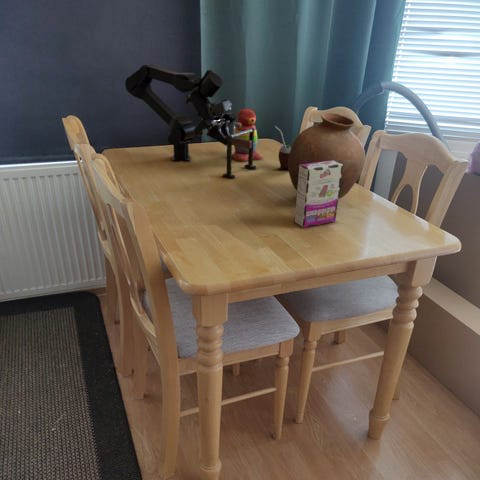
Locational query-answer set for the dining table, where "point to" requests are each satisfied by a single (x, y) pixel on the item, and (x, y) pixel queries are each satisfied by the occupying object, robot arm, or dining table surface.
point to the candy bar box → (317, 193)
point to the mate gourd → (284, 154)
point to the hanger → (239, 141)
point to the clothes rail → (229, 152)
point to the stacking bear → (246, 135)
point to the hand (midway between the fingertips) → (229, 144)
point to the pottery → (329, 149)
